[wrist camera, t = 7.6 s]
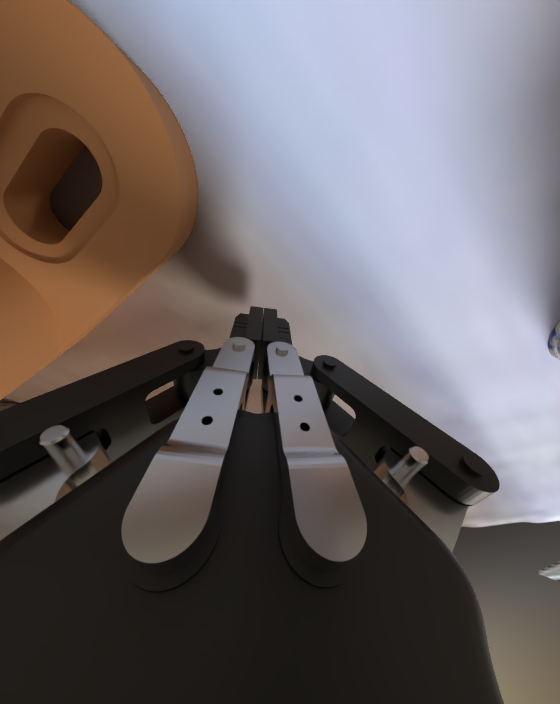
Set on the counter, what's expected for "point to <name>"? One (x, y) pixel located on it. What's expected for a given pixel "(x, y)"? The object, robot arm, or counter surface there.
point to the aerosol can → (555, 342)
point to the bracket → (51, 164)
